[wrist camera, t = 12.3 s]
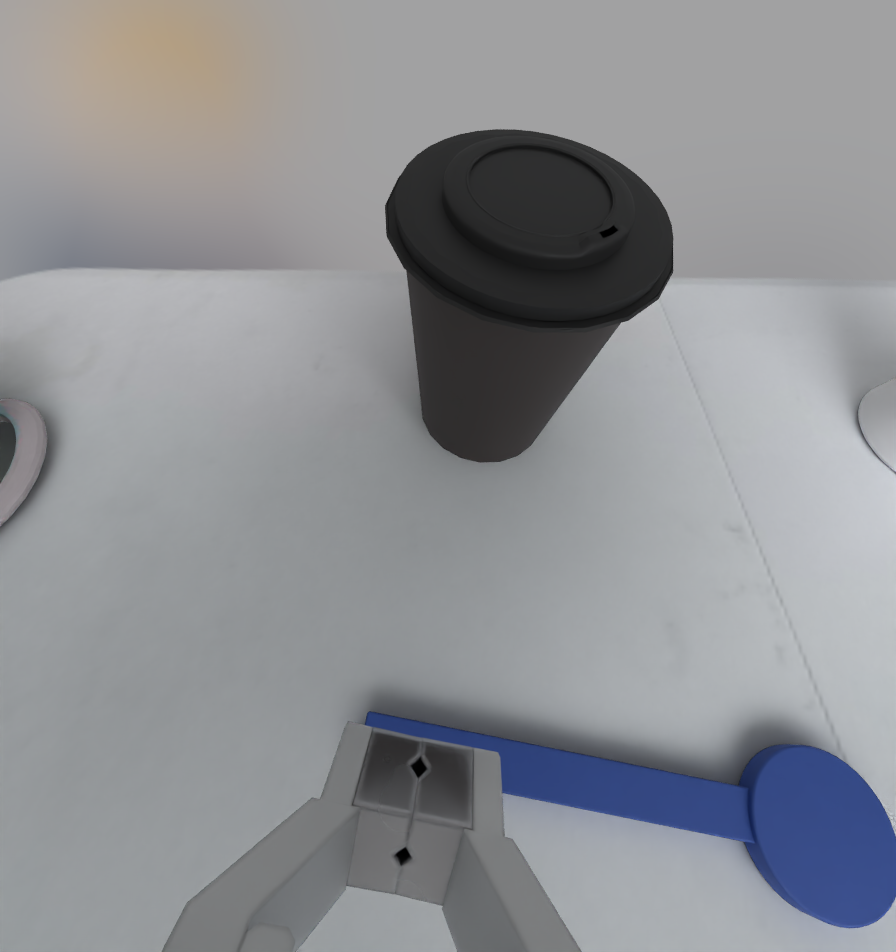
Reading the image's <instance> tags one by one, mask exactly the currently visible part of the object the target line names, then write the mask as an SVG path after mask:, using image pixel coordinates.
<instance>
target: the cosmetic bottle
mask: <svg viewBox="0 0 896 952" xmlns="http://www.w3.org/2000/svg"><path fill="white" fill-rule="evenodd" d="M858 418H859V424H860V427H861V430H862V432H863V435H864V437H865V439H866V440H867V442H868V444H869V445H870V447H871V448H872V449H873V451H874V452H875V453H876V454H877V455H878V456H879V458H880V459H881V460H882V461H883V462H884V463H885V464H887V465H888V466H889V467H890V468H891V469H893V470H894V471H895V472H896V378H894V379H892V380H890V381H888V382H886V383H884V384H881V385H879V386H877V387H875V388H873V389H872V390H870V391H869V392H868V393H867V394H866V395H865V396H864V397H863V399H862V400H861V403H860V405H859V410H858Z"/></svg>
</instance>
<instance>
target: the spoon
mask: <svg viewBox="0 0 896 952" xmlns="http://www.w3.org/2000/svg"><path fill="white" fill-rule="evenodd" d="M365 725H366V726H370V727H373V728H374V727H377V728H381V729H386V730H390V731H394V732H398V733H403V734H407V735H411V736H415V737H420V738H427V739H432V740H437V741H443V742H448V743H453V744H458V745H463V746H468V747H472V748H478V749H484V750H489V751H494V752H498V754H499V756H500V762H501V780H502V793H506V794H511V795H516V796H521V797H526V798H531V799H535V800H540V801H545V802H550V803H555V804H560V805H565V806H570V807H575V808H580V809H585V810H590V811H595V812H600V813H605V814H610V815H615V816H620V817H625V818H630V819H634V820H639V821H644V822H649V823H654V824H659V825H664V826H669V827H674V828H679V829H684V830H689V831H694V832H699V833H704V834H709V835H714V836H719V837H724V838H729V839H733V840H738V841H743V842H745V845H746V847H747V849H748V852H749V854H750V856H751V858H752V860H753V861H754V863H755V865H756V867H757V868H758V870H759V871H760V873H761V874H762V876H763V877H764V878H765V880H766V881H767V882H768V883H769V885H770V886H771V887H772V888H773V889H774V890H775V891H776V892H777V893H778V894H779V895H780V896H781V897H782V898H783V899H784V900H786V901H787V902H788V903H789V904H791V905H792V906H794V907H795V908H797V909H798V910H800V911H802V912H804V913H806V914H808V915H810V916H812V917H815V918H817V919H819V920H821V921H823V922H826V923H828V924H831V925H834V926H838V927H844V928H860V927H863V926H867V925H870V924H872V923H874V922H876V921H878V920H879V919H880V918H881V917H883V916H884V915H885V914H886V912H887V911H888V910H889V909H890V907H891V905H892V903H893V902H894V900H895V897H896V837H895V833H894V830H893V828H892V825H891V822H890V820H889V818H888V816H887V814H886V811H885V809H884V808H883V806H882V804H881V802H880V801H879V799H878V798H877V796H876V795H875V793H874V792H873V790H872V789H871V788H870V787H869V785H868V784H867V783H866V782H865V780H864V779H863V778H862V777H861V776H860V775H859V774H858V773H857V772H856V771H855V770H853V769H852V768H851V767H850V766H849V765H848V764H846V763H845V762H843V761H842V760H841V759H839V758H838V757H836V756H834V755H832V754H830V753H829V752H826V751H824V750H822V749H819V748H816V747H812V746H806V745H793V744H779V745H774V746H770V747H768V748H765V749H763V750H762V751H760V752H759V753H757V754H756V755H755V756H754V757H753V758H752V759H751V760H750V761H749V763H748V764H747V765H746V767H745V769H744V771H743V773H742V776H741V779H740V782H739V786H737V785H732V784H728V783H723V782H718V781H713V780H708V779H703V778H698V777H693V776H688V775H683V774H678V773H673V772H668V771H663V770H658V769H653V768H648V767H643V766H638V765H633V764H628V763H623V762H618V761H614V760H609V759H604V758H599V757H594V756H589V755H584V754H579V753H574V752H569V751H564V750H559V749H554V748H549V747H544V746H539V745H534V744H529V743H524V742H519V741H514V740H509V739H504V738H499V737H495V736H490V735H485V734H480V733H475V732H470V731H465V730H460V729H455V728H450V727H445V726H440V725H435V724H430V723H425V722H420V721H415V720H410V719H405V718H400V717H395V716H390V715H385V714H381V713H376V712H371V711H369V712H368V713H367V717H366V721H365Z"/></svg>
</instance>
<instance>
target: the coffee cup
mask: <svg viewBox="0 0 896 952" xmlns="http://www.w3.org/2000/svg"><path fill="white" fill-rule="evenodd" d="M385 213H386V231H387V232H386V233H387V238H388V239H389V241H390V243H391V245H392V247H393V249H394V251H395V252H396V254H397V256H398V258H399V260H400V261H401V263H402V265H403V267H404V268H405V269H406V271H407V280H408V289H409V298H410V307H411V316H412V325H413V334H414V343H415V352H416V361H417V370H418V379H419V388H420V397H421V406H422V415H423V420H424V422H425V424H426V426H427V428H428V431H429V433H430V435H431V436H432V437H433V438H434V439H435V440H436V441H437V442H438V443H439V444H440V445H441V446H442V447H443V448H444V449H446V450H448V451H450V452H452V453H453V454H455V455H457V456H459V457H460V458H464V459H469V460H473V461H477V462H500V461H503V460H506V459H509V458H512V457H515V456H518V455H519V454H520V453H521V452H523V451H524V450H525V449H527V448H528V447H529V446H531V444H532V443H533V442H534V440H535V439H536V438H537V436H538V435H539V434H540V432H541V431H542V430H543V428H544V427H545V425H546V424H547V423H548V421H549V420H550V419H551V417H552V416H553V415H554V413H555V412H556V410H557V409H558V408H559V406H560V405H561V404H562V402H563V401H564V400H565V398H566V397H567V395H568V394H569V393H570V391H571V390H572V389H573V387H574V386H575V385H576V383H577V382H578V380H579V379H580V378H581V376H582V375H583V374H584V372H585V371H586V370H587V368H588V367H589V365H590V364H591V363H592V361H593V360H594V359H595V357H596V356H597V355H598V353H599V352H600V350H601V349H602V348H603V346H604V345H605V344H606V342H607V341H608V340H609V338H610V337H611V335H612V334H613V333H614V331H615V330H616V329H617V327H618V326H619V325H620V323H621V322H625V321H628V320H630V319H631V318H633V317H634V316H635V315H637V314H638V313H640V312H641V311H642V310H644V309H645V308H647V307H648V306H650V305H651V304H652V303H654V302H655V301H657V300H658V299H659V297H660V295H661V293H662V291H663V290H664V288H665V286H666V284H667V282H668V281H669V279H670V277H671V275H672V273H673V233H672V225H671V223H670V220H669V217H668V214H667V212H666V210H665V208H664V206H663V205H662V203H661V201H660V199H659V198H658V197H657V196H656V194H655V193H654V192H653V191H652V189H651V188H650V187H649V186H648V185H647V184H646V183H645V182H644V181H643V180H642V179H641V178H640V177H638V176H637V175H636V174H635V173H634V172H632V171H631V170H630V169H628V168H627V167H625V166H624V165H623V164H621V163H620V162H618V161H616V160H614V159H613V158H611V157H609V156H608V155H606V154H604V153H601V152H599V151H597V150H595V149H593V148H591V147H588V146H586V145H583V144H580V143H578V142H575V141H572V140H568V139H565V138H561V137H558V136H554V135H549V134H544V133H539V132H533V131H522V130H485V131H475V132H470V133H465V134H460V135H457V136H454V137H450V138H447V139H444V140H442V141H440V142H438V143H436V144H434V145H431V146H430V147H428V148H427V149H425V150H424V151H422V152H421V153H419V154H418V155H417V156H416V157H415V158H414V159H413V160H412V161H411V162H410V163H409V164H408V165H407V167H406V168H405V169H404V171H403V173H402V174H401V176H400V177H399V178H398V180H397V182H396V184H395V186H394V188H393V190H392V192H391V194H390V197H389V199H388V201H387V203H386V205H385Z"/></svg>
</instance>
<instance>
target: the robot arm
mask: <svg viewBox="0 0 896 952" xmlns="http://www.w3.org/2000/svg"><path fill="white" fill-rule="evenodd" d="M346 886H350V887H356V888H362V889H368V890H373V891H379V892H385V893H391V894H396V895H400V896H404V897H408V898H412V899H417V900H421V901H425V902H429V903H433V904H437V905H441V906H443V907H442V910H443V913H444V916H445V918H446V921H447V924H448V927H449V930H450V932H451V935H452V938H453V941H454V944H455V946H456V949H457V952H582V951H581V950H580V948H579V946H578V945H577V943H576V942H575V940H574V938H573V937H572V935H571V933H570V932H569V930H568V928H567V927H566V925H565V924H564V922H563V920H562V919H561V917H560V915H559V914H558V912H557V910H556V909H555V907H554V906H553V904H552V902H551V901H550V899H549V897H548V896H547V894H546V892H545V891H544V889H543V888H542V886H541V884H540V883H539V881H538V879H537V878H536V876H535V874H534V873H533V871H532V870H531V868H530V866H529V865H528V863H527V861H526V860H525V858H524V856H523V855H522V853H521V852H520V850H519V848H518V847H517V845H516V843H515V842H514V840H513V839H511V838H507V837H505V834H504V816H503V798H502V780H501V762H500V756H499V754H498V752H494V751H489V750H484V749H478V748H472V747H468V746H463V745H458V744H453V743H448V742H443V741H437V740H432V739H427V738H420V737H415V736H411V735H407V734H403V733H398V732H394V731H390V730H386V729H381V728H377V727H374V728H373V727H370V726H366V725H362V724H357V723H353V722H349V721H348V723H347V724H346V726H345V728H344V730H343V733H342V736H341V739H340V742H339V745H338V748H337V751H336V754H335V757H334V760H333V762H332V765H331V768H330V771H329V774H328V777H327V780H326V783H325V786H324V789H323V792H322V795H321V797H320V799H318V798H311V799H310V800H308V801H307V802H306V803H305V804H304V805H302V806H301V807H300V808H299V809H298V810H296V811H295V812H294V813H293V814H292V815H291V816H289V817H288V818H287V819H286V820H285V821H283V822H282V823H281V824H280V825H279V826H277V827H276V828H275V829H274V830H273V831H272V832H270V833H269V834H268V835H267V836H266V837H264V838H263V839H262V840H261V841H260V842H258V843H257V844H256V845H255V846H254V847H253V848H251V849H250V850H249V851H248V852H247V853H245V854H244V855H243V856H242V857H241V858H239V859H238V860H237V861H236V862H235V863H234V864H232V865H231V866H230V867H229V868H228V869H226V870H225V871H224V872H223V873H222V874H220V875H219V876H218V877H217V878H216V879H215V880H213V881H212V882H211V883H210V884H209V885H207V886H206V887H205V888H204V889H203V890H201V891H200V892H199V893H198V894H197V895H196V896H194V897H193V898H192V899H191V900H190V901H188V902H187V904H186V905H185V907H184V909H183V911H182V913H181V915H180V917H179V919H178V921H177V923H176V925H175V927H174V929H173V931H172V932H171V934H170V936H169V938H168V940H167V942H166V944H165V946H164V948H163V950H162V952H296V951H297V950H298V949H299V947H300V946H301V945H302V944H303V942H304V941H305V940H306V939H307V937H308V936H309V935H310V934H311V932H312V931H313V930H314V929H315V927H316V926H317V925H318V924H319V922H320V921H321V920H322V919H323V917H324V916H325V915H326V914H327V912H328V911H329V910H330V908H331V907H332V906H333V905H334V903H335V902H336V901H337V900H338V898H339V897H340V896H341V895H342V893H343V892H344V891H345V890H346Z"/></svg>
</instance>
